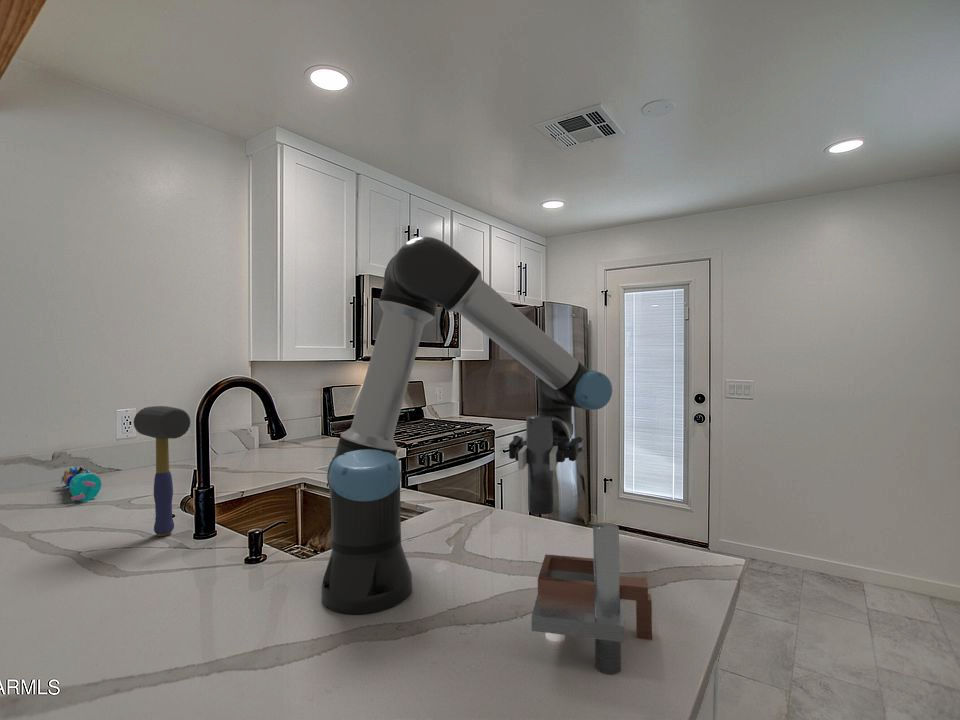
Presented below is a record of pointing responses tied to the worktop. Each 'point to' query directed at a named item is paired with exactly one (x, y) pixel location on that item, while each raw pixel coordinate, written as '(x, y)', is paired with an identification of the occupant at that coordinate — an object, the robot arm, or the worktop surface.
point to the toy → (81, 484)
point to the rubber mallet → (162, 456)
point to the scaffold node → (592, 598)
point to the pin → (539, 464)
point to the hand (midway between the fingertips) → (536, 461)
